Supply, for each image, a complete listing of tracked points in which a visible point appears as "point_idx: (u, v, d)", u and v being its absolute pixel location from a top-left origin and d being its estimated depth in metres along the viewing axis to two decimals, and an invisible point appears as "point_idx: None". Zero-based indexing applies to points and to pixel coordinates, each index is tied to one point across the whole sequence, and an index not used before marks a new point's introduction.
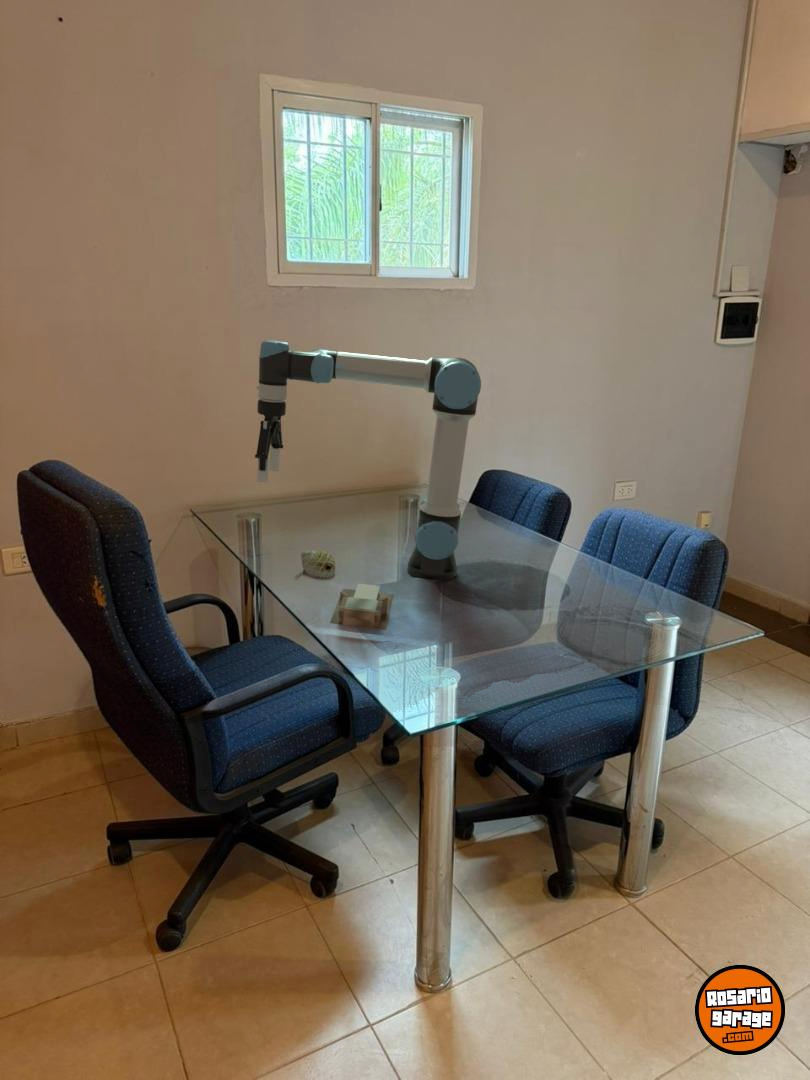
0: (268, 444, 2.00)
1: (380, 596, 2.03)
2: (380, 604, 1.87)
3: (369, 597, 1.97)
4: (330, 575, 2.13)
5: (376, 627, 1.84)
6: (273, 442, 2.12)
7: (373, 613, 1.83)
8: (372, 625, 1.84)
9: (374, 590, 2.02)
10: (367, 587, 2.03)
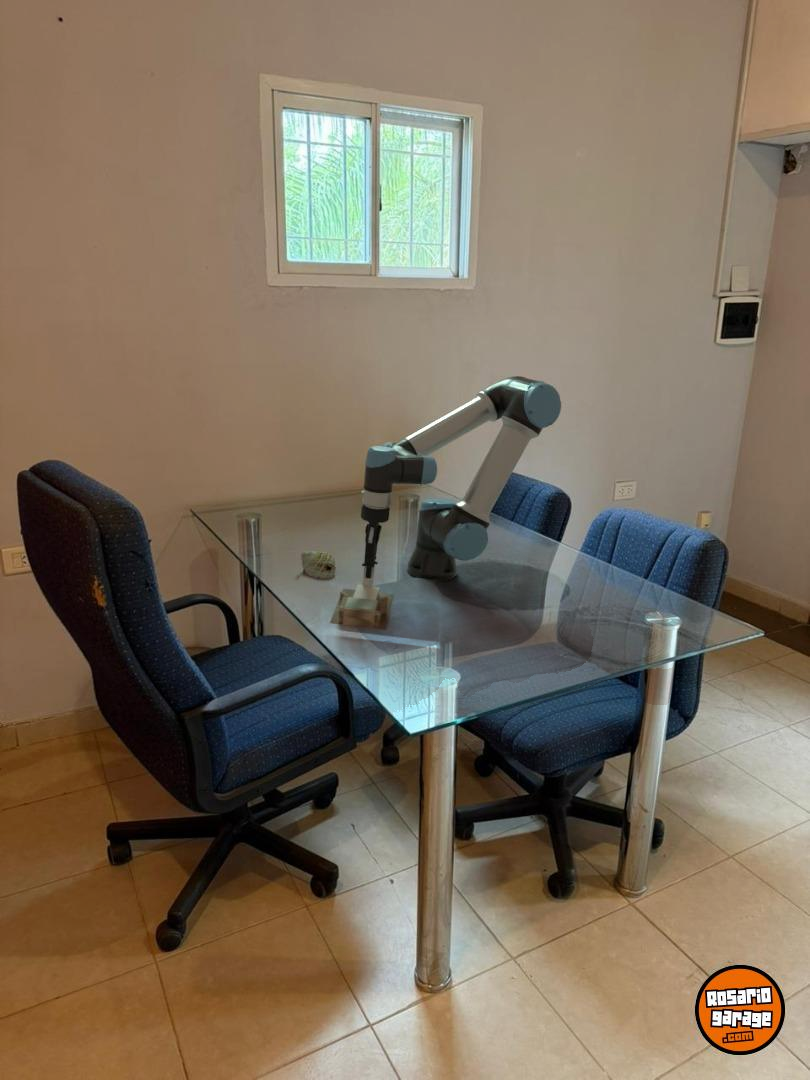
0: (373, 553, 2.00)
1: (380, 596, 2.03)
2: (380, 604, 1.87)
3: (368, 598, 1.96)
4: (330, 575, 2.12)
5: (376, 627, 1.84)
6: None
7: (373, 613, 1.83)
8: (372, 625, 1.84)
9: (374, 591, 2.01)
10: (367, 589, 2.02)
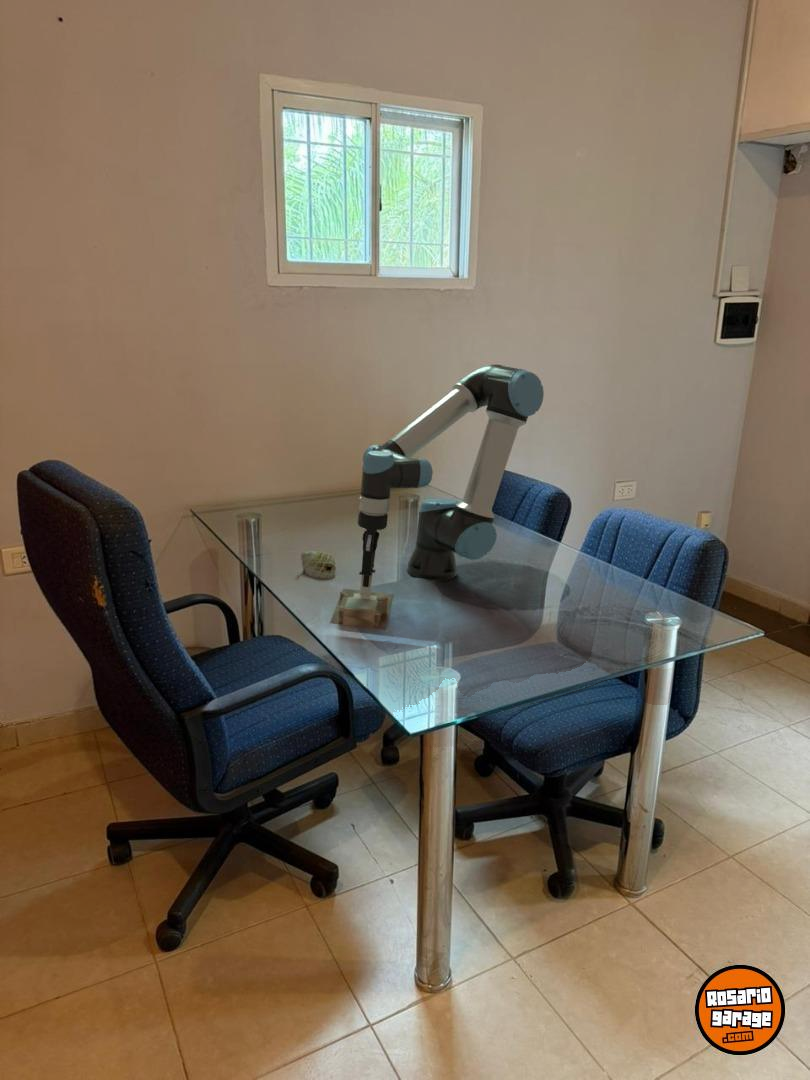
0: (371, 561, 1.94)
1: (380, 596, 2.03)
2: (380, 604, 1.87)
3: None
4: (331, 576, 2.12)
5: (376, 627, 1.84)
6: None
7: (373, 613, 1.83)
8: (372, 625, 1.84)
9: None
10: (364, 597, 1.96)
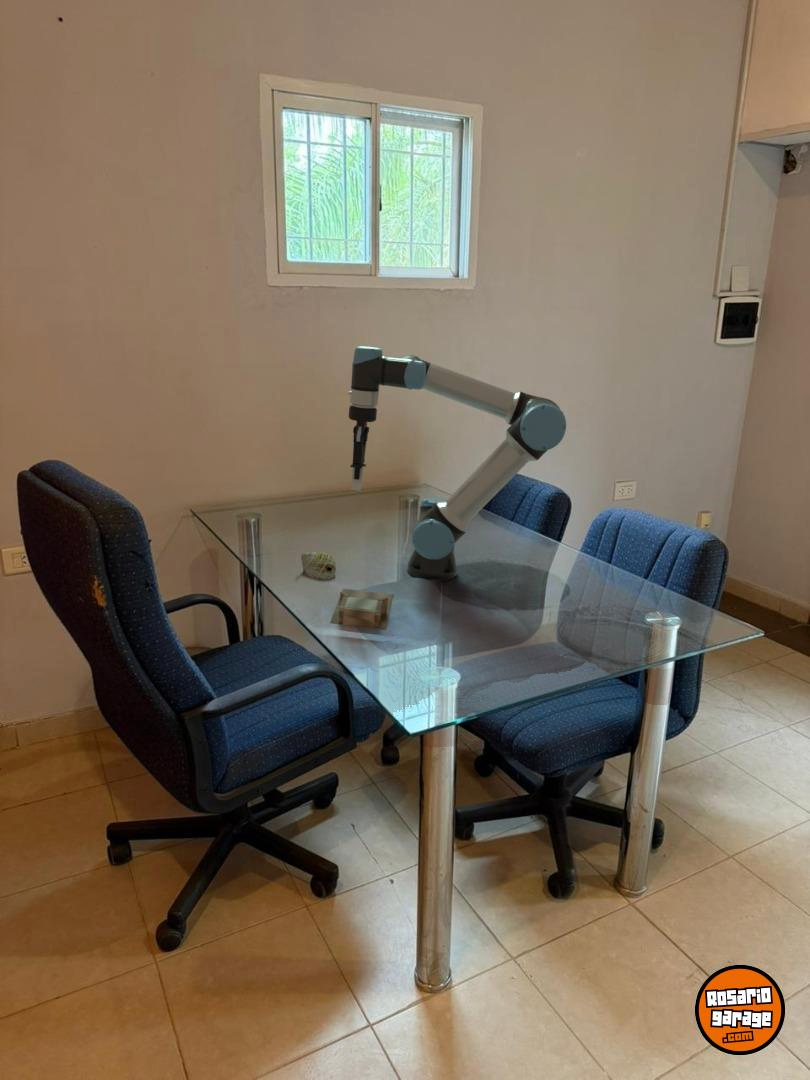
0: (362, 454, 2.04)
1: (380, 596, 2.03)
2: (380, 604, 1.87)
3: None
4: (331, 576, 2.12)
5: (376, 627, 1.84)
6: None
7: (373, 613, 1.83)
8: (372, 625, 1.84)
9: None
10: None
